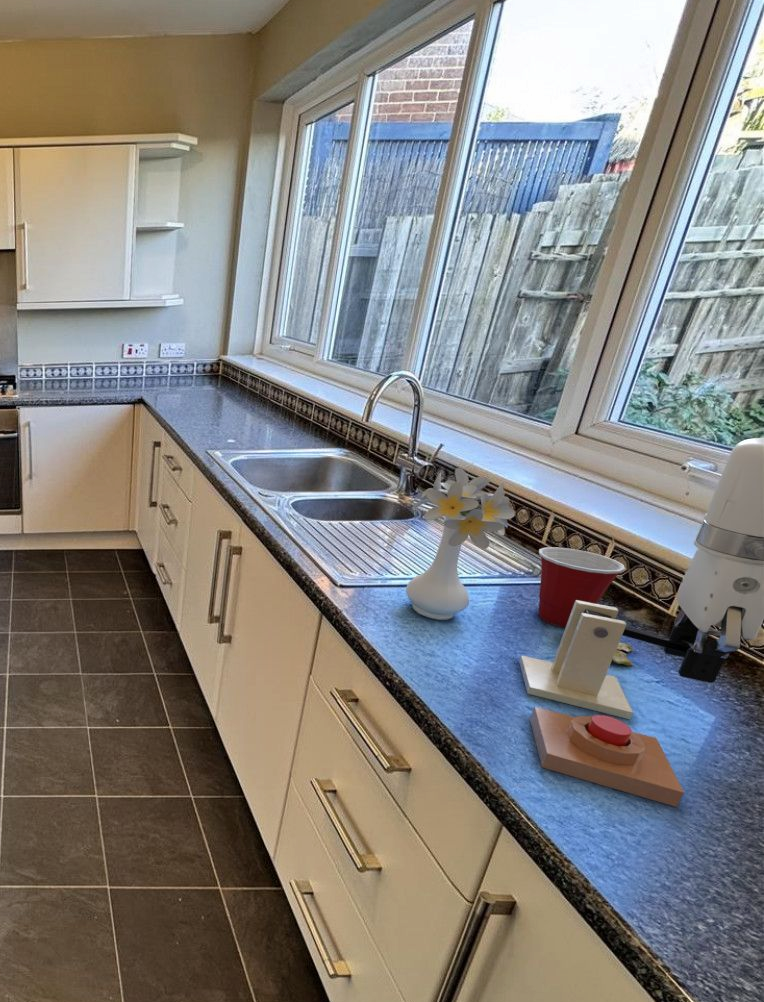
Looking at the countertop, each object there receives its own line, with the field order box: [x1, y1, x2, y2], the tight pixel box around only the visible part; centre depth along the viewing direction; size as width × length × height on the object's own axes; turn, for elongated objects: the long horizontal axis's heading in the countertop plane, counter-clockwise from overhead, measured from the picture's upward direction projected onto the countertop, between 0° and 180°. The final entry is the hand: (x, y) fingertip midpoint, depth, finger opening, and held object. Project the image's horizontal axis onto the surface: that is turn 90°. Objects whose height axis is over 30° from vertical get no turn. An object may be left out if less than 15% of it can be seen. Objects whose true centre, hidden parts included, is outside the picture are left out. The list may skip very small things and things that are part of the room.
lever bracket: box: [518, 600, 634, 720], centre depth 86 cm, size 11×9×13 cm
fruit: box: [612, 641, 634, 666], centre depth 97 cm, size 8×8×4 cm
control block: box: [529, 706, 685, 808], centre depth 75 cm, size 12×10×4 cm
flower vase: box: [405, 467, 516, 621], centre depth 104 cm, size 13×18×25 cm
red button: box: [587, 714, 633, 746], centre depth 75 cm, size 4×4×2 cm
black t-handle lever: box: [584, 609, 695, 653], centre depth 83 cm, size 12×5×2 cm, turn 59°
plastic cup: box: [538, 546, 626, 629], centre depth 104 cm, size 11×11×12 cm
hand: (687, 665), depth 81 cm, fingers closed on black t-handle lever, 5 cm apart
